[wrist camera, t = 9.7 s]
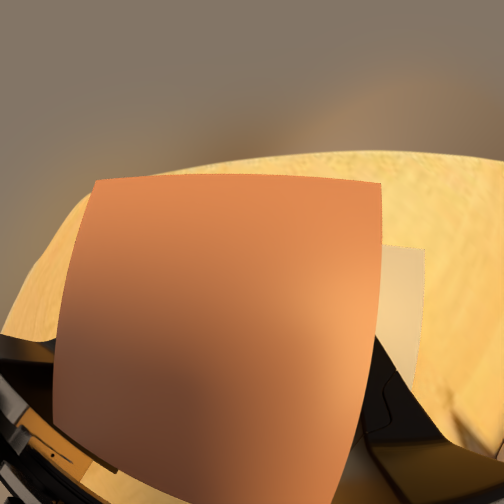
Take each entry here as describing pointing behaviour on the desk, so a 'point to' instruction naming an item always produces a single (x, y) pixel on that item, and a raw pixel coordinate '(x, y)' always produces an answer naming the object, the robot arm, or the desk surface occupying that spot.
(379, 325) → the plate
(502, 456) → the photo printer
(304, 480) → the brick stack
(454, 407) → the desk surface
